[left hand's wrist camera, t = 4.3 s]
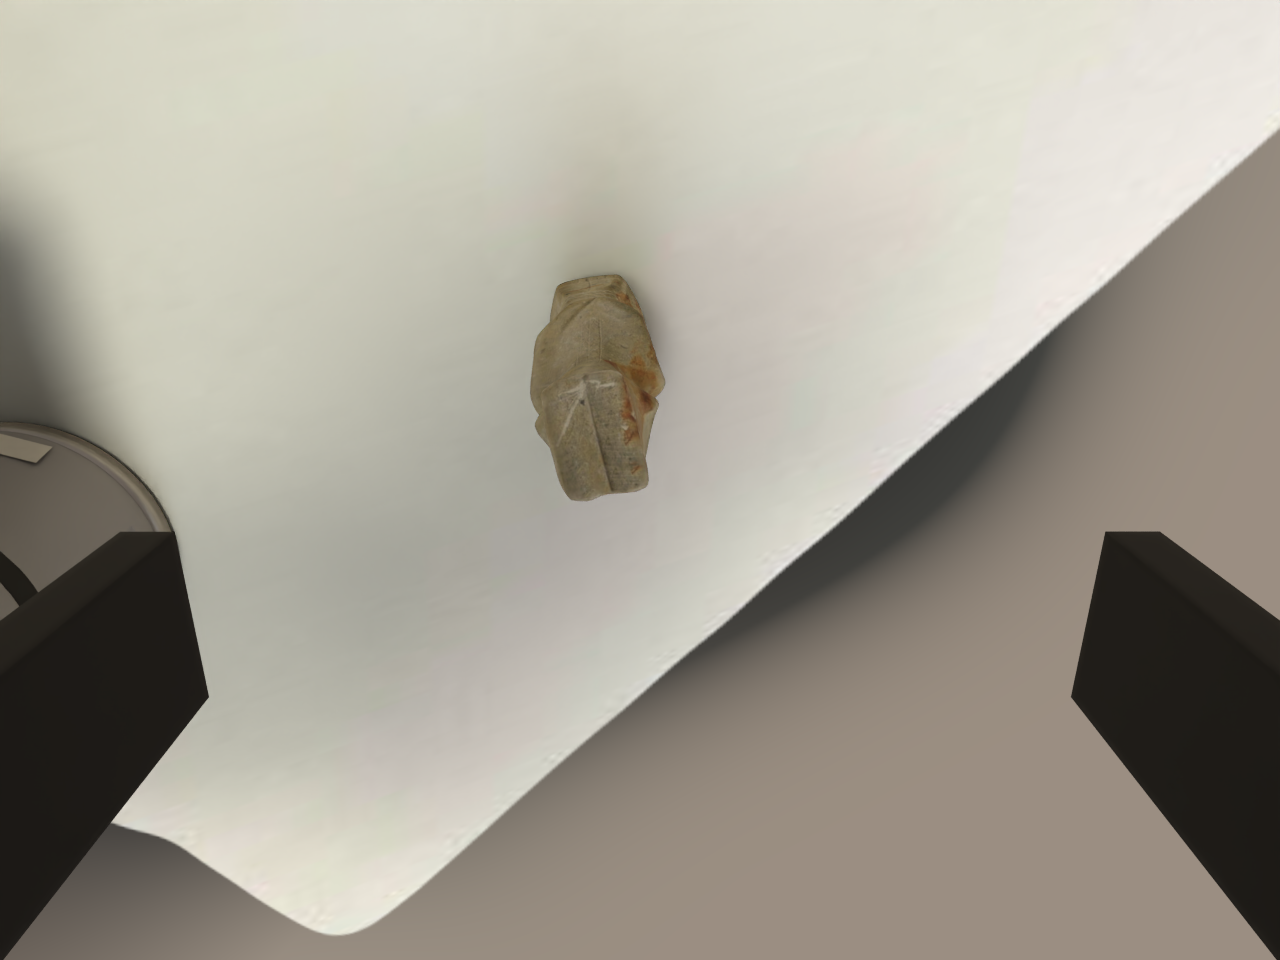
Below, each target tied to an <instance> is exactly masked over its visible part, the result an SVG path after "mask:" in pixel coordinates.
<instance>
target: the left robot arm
mask: <svg viewBox="0 0 1280 960" xmlns="http://www.w3.org/2000/svg"><path fill="white" fill-rule="evenodd" d="M208 698H209V695H208V690H207V685H206V680H205V676H204V671H203V666H202V661H201V656H200V652H199V647H198V642H197V637H196V632H195V628H194V623H193V618H192V613H191V608H190V604H189V599H188V594H187V589H186V584H185V580H184V575H183V570H182V565H181V560H180V556H179V551H178V546H177V541H176V536H175V532H171V530H170V527H169V525H168V522H167V520H166V518H165V516H164V514H163V513H162V511H161V509H160V507H159V506H158V504H157V503H156V501H155V500H154V498H153V497H152V495H151V494H150V493H149V492H148V490H147V489H146V488H145V486H144V485H143V484H142V483H141V482H140V481H139V480H138V479H137V478H136V477H135V476H134V475H133V474H132V473H131V472H130V471H129V470H128V469H127V468H126V467H125V466H123V465H122V464H121V463H120V462H118V461H117V460H116V459H114V458H113V457H112V456H110V455H109V454H107V453H106V452H104V451H103V450H101V449H100V448H98V447H96V446H94V445H93V444H91V443H89V442H87V441H85V440H83V439H81V438H78V437H76V436H74V435H71V434H69V433H66V432H63V431H60V430H57V429H53V428H50V427H46V426H41V425H36V424H29V423H19V422H2V423H0V960H3V959H4V958H5V957H6V956H7V954H8V953H9V952H10V950H11V949H12V948H13V947H14V945H15V944H16V943H17V942H18V940H19V939H20V938H21V936H22V935H23V934H24V933H25V931H26V930H27V929H28V928H29V926H30V925H31V924H32V922H33V921H34V920H35V919H36V917H37V916H38V915H39V913H40V912H41V911H42V910H43V908H44V907H45V906H46V904H47V903H48V902H49V901H50V899H51V898H52V897H53V896H54V894H55V893H56V892H57V890H58V889H59V888H60V887H61V885H62V884H63V883H64V882H65V880H66V879H67V878H68V876H69V875H70V874H71V873H72V871H73V870H74V869H75V867H76V866H77V865H78V864H79V862H80V861H81V860H82V858H83V857H84V856H85V855H86V853H87V852H88V851H89V850H90V848H91V847H92V846H93V844H94V843H95V842H96V841H97V839H98V838H99V837H100V835H101V834H102V833H103V832H104V830H105V829H106V828H107V827H108V825H109V824H110V823H111V821H112V820H113V819H114V818H115V816H116V815H117V814H118V813H119V811H120V810H121V809H122V807H123V806H124V805H125V804H126V802H127V801H128V800H129V798H130V797H131V796H132V795H133V793H134V792H135V791H136V790H137V788H138V787H139V786H140V784H141V783H142V782H143V781H144V779H145V778H146V777H147V775H148V774H149V773H150V772H151V770H152V769H153V768H154V767H155V765H156V764H157V763H158V761H159V760H160V759H161V758H162V756H163V755H164V754H165V752H166V751H167V750H168V749H169V747H170V746H171V745H172V744H173V742H174V741H175V740H176V738H177V737H178V736H179V735H180V733H181V732H182V731H183V729H184V728H185V727H186V726H187V724H188V723H189V722H190V721H191V719H192V718H193V717H194V715H195V714H196V713H197V712H198V710H199V709H200V708H201V707H202V705H203V704H204V703H205V701H206V700H207V699H208ZM1071 698H1072V699H1073V700H1074V701H1075V703H1076V704H1077V705H1078V706H1079V708H1080V709H1081V710H1082V712H1083V713H1084V714H1085V715H1086V717H1087V718H1088V719H1089V721H1090V722H1091V723H1092V724H1093V726H1094V727H1095V728H1096V730H1097V731H1098V732H1099V733H1100V735H1101V736H1102V737H1103V738H1104V740H1105V741H1106V742H1107V743H1108V745H1109V746H1110V747H1111V749H1112V750H1113V751H1114V752H1115V754H1116V755H1117V756H1118V758H1119V759H1120V760H1121V761H1122V763H1123V764H1124V765H1125V767H1126V768H1127V769H1128V770H1129V772H1130V773H1131V774H1132V775H1133V777H1134V778H1135V779H1136V781H1137V782H1138V783H1139V784H1140V786H1141V787H1142V788H1143V790H1144V791H1145V792H1146V793H1147V795H1148V796H1149V797H1150V798H1151V800H1152V801H1153V802H1154V804H1155V805H1156V806H1157V807H1158V809H1159V810H1160V811H1161V813H1162V814H1163V815H1164V816H1165V818H1166V819H1167V820H1168V821H1169V823H1170V824H1171V825H1172V827H1173V828H1174V829H1175V830H1176V832H1177V833H1178V834H1179V836H1180V837H1181V838H1182V839H1183V841H1184V842H1185V843H1186V844H1187V846H1188V847H1189V848H1190V850H1191V851H1192V852H1193V853H1194V855H1195V856H1196V857H1197V859H1198V860H1199V861H1200V862H1201V864H1202V865H1203V866H1204V867H1205V869H1206V870H1207V871H1208V873H1209V874H1210V875H1211V876H1212V878H1213V879H1214V880H1215V882H1216V883H1217V884H1218V885H1219V887H1220V888H1221V889H1222V890H1223V892H1224V893H1225V894H1226V896H1227V897H1228V898H1229V899H1230V901H1231V902H1232V903H1233V905H1234V906H1235V907H1236V908H1237V910H1238V911H1239V912H1240V913H1241V915H1242V916H1243V917H1244V919H1245V920H1246V921H1247V922H1248V924H1249V925H1250V926H1251V927H1252V929H1253V930H1254V931H1255V933H1256V934H1257V935H1258V936H1259V938H1260V939H1261V940H1262V941H1263V943H1264V944H1265V945H1266V947H1267V948H1268V949H1269V951H1270V952H1271V953H1272V954H1273V956H1274V957H1275V958H1276V959H1277V960H1280V620H1278V619H1277V618H1276V617H1274V616H1273V615H1272V614H1270V613H1269V612H1267V611H1266V610H1265V609H1263V608H1262V607H1261V606H1259V605H1258V604H1257V603H1255V602H1254V601H1253V600H1251V599H1250V598H1249V597H1247V596H1246V595H1245V594H1243V593H1242V592H1240V591H1239V590H1238V589H1236V588H1235V587H1234V586H1232V585H1231V584H1230V583H1228V582H1227V581H1226V580H1224V579H1223V578H1222V577H1220V576H1219V575H1218V574H1216V573H1215V572H1214V571H1212V570H1211V569H1209V568H1208V567H1207V566H1205V565H1204V564H1203V563H1201V562H1200V561H1199V560H1197V559H1196V558H1195V557H1193V556H1192V555H1191V554H1189V553H1188V552H1187V551H1185V550H1184V549H1183V548H1181V547H1180V546H1178V545H1177V544H1176V543H1174V542H1173V541H1172V540H1170V539H1169V538H1168V537H1166V536H1165V535H1164V534H1162V533H1161V532H1105V536H1104V541H1103V546H1102V551H1101V556H1100V560H1099V565H1098V570H1097V575H1096V580H1095V584H1094V589H1093V594H1092V599H1091V604H1090V609H1089V613H1088V618H1087V623H1086V628H1085V632H1084V637H1083V642H1082V647H1081V652H1080V656H1079V661H1078V666H1077V671H1076V676H1075V680H1074V685H1073V690H1072V695H1071Z"/></svg>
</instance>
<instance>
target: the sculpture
mask: <svg viewBox="0 0 1280 960" xmlns="http://www.w3.org/2000/svg"><path fill="white" fill-rule="evenodd" d="M664 386H665V379H664V376H663V373H662V371H661V368H660V365H659V363H658V360H657V357H656V354H655V350H654V348H653V345H652V342H651V338H650V335H649V333H648V330H647V327H646V324H645V320H644V317H643V314H642V312H641V309H640V307H639V305H638V302H637V300H636V298H635V296H634V294H633V292H632V291H631V289H630V288H629V286H628V284H627V283H626V281H625V280H624V279H623V278H622V277H621V276H619V275H604V276H595V277H588V278H582V279H577V280H573V281H569V282H565V283H562V284H560V285H559V286H558V287H557V288H556V291H555V294H554V299H553V304H552V309H551V316H550V323H549V324H548V325H547V326H546V327H545V328H544V329H543V330H542V331H541V332H540V334H539V335H538V337H537V339H536V342H535V348H534V359H533V367H532V376H531V389H530V394H531V400H532V403H533V405H534V408H535V410H536V411H537V413H538V414H539V417H538V419H537V420H536V423H535V427H536V430H537V432H538V434H539V435H540V437H541V438H542V439H543V440H544V441H545V442H546V443H547V445H548V446H549V447H550V449H551V453H552V456H553V460H554V464H555V468H556V472H557V476H558V478H559V481H560V484H561V486H562V488H563V490H564V491H565V493H566V494H567V496H568V497H569V498H570V499H571V500H575V501H590V500H593V499H595V498H598V497H600V496H603V495H607V494H616V493H628V492H635V491H638V490H641V489H643V488H645V487H646V486H647V485H648V470H647V464H646V459H645V457H646V452H647V448H648V442H649V437H650V432H651V427H652V424H653V420H654V416H655V414H656V411H657V409H658V406H659V403H658V401H657V400H656V398H655V397H656V396H657V395H658V394H659V393H660V392H661V391H662V390H663V388H664Z"/></svg>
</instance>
